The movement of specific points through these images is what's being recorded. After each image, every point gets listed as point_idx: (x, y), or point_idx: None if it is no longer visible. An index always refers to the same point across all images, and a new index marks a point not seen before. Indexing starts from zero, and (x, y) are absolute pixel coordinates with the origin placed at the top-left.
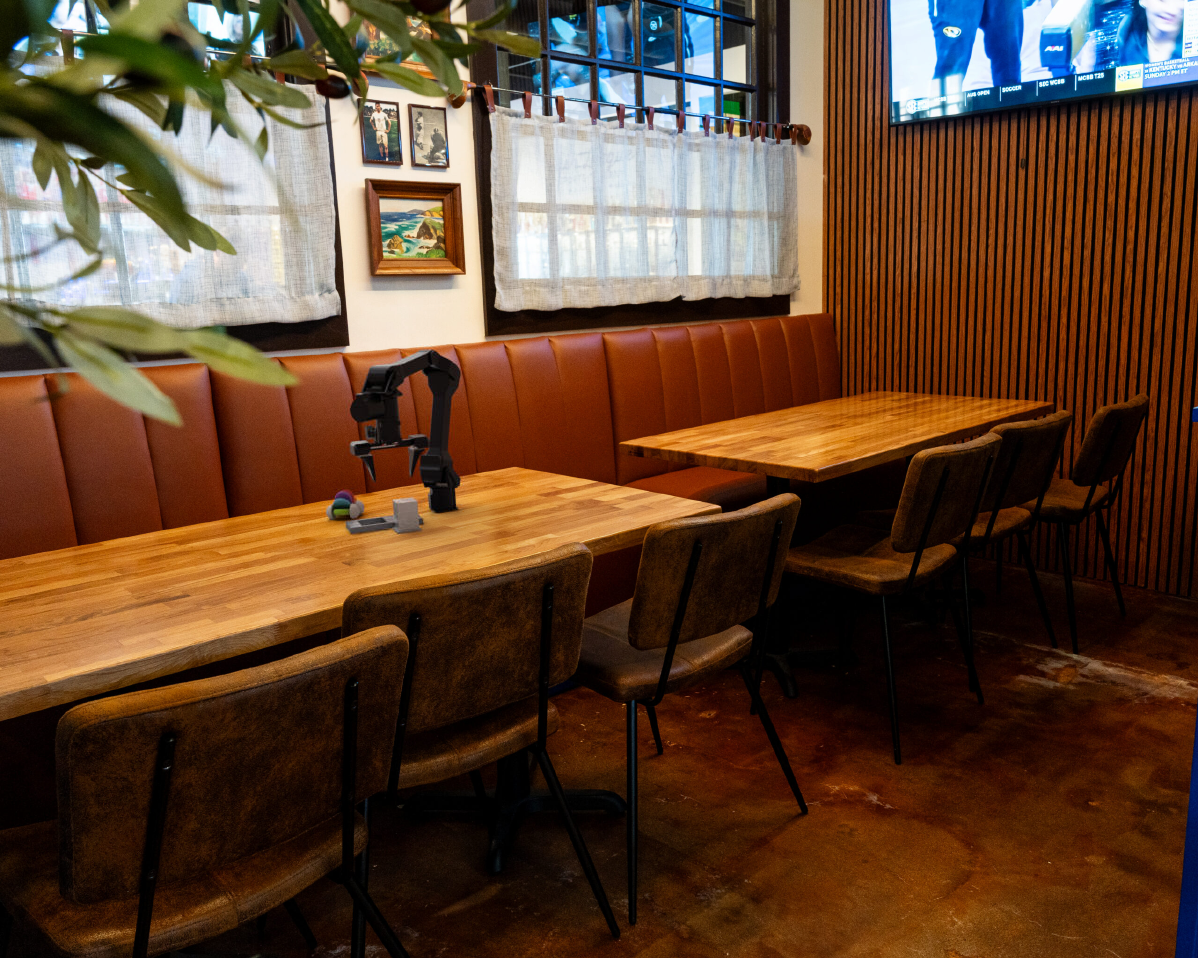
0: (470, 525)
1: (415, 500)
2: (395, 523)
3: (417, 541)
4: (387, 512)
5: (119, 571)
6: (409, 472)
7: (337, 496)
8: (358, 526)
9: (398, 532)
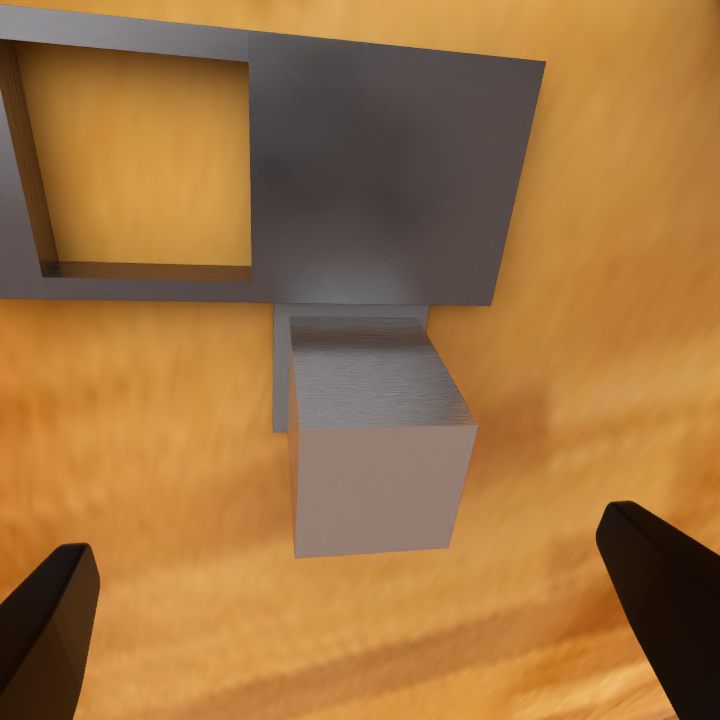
0: (628, 443)
1: (446, 528)
2: (289, 358)
3: (318, 576)
4: None
5: None
6: (642, 541)
7: None
8: (16, 285)
9: (278, 431)
